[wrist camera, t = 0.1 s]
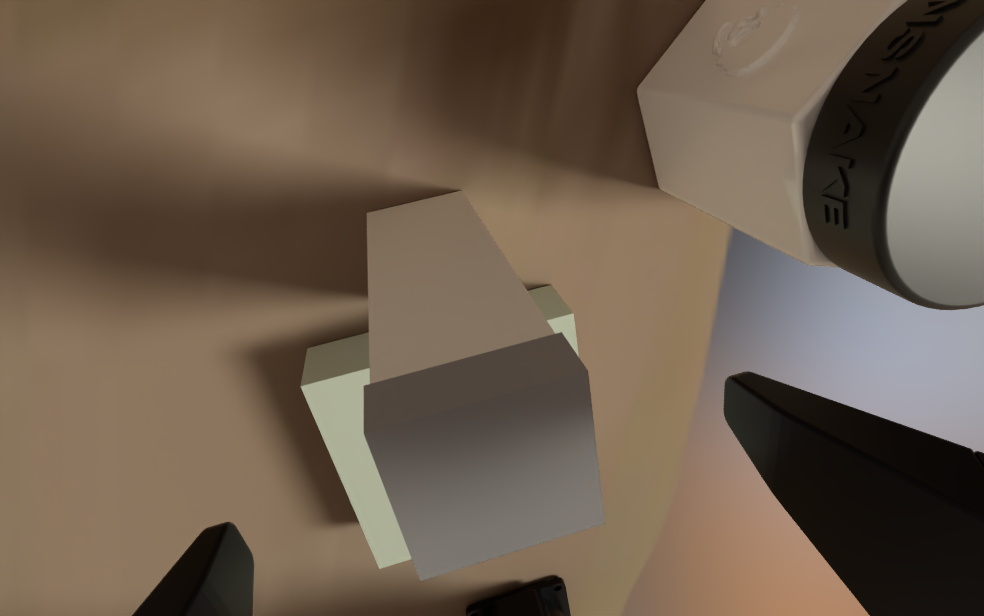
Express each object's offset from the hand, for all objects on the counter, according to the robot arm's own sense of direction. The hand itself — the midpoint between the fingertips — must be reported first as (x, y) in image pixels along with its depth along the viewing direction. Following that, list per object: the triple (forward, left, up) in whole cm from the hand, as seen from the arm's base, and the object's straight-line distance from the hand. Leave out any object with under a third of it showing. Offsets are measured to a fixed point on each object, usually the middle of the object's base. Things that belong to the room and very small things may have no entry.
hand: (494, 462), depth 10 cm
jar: (+2, -14, -15) cm, 21 cm away
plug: (-1, 0, -15) cm, 15 cm away
